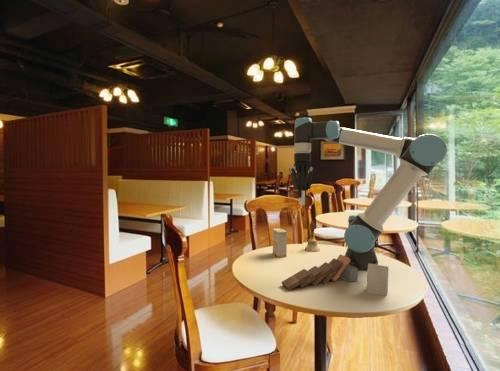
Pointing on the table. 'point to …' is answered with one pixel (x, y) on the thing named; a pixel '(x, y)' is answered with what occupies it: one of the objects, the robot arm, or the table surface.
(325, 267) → the walnut tile
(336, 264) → the walnut tile
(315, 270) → the walnut tile
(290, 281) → the walnut tile
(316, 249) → the hand bell
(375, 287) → the beige boxy piece
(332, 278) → the terracotta tile
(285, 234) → the supplement box
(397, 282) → the table surface
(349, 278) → the block
